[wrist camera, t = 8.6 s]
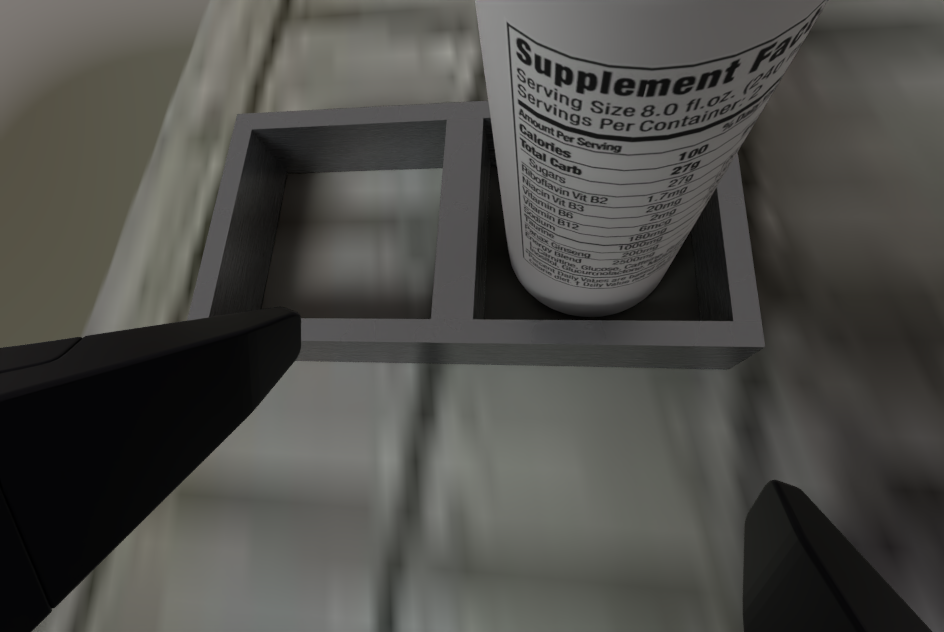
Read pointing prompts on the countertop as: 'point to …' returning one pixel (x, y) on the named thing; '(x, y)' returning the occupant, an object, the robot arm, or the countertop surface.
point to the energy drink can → (621, 129)
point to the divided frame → (457, 250)
